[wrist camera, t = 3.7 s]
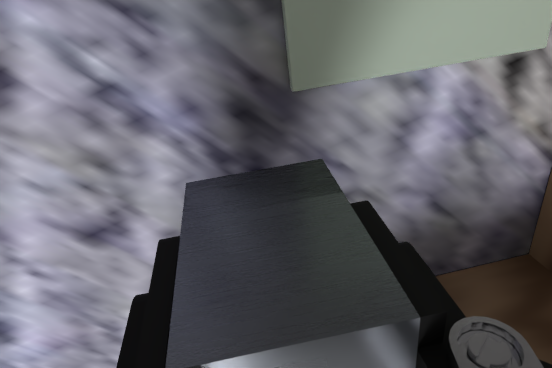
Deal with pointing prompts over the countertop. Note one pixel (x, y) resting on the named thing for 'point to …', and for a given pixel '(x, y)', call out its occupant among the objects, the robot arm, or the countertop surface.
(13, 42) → the countertop surface
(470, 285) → the wall
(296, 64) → the pad
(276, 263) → the metal block
